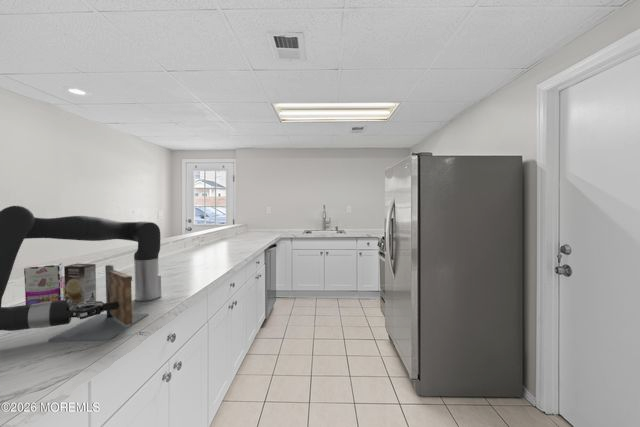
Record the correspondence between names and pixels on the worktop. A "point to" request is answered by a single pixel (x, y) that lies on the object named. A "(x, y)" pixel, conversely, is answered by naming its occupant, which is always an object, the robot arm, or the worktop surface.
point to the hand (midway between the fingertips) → (117, 305)
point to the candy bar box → (43, 283)
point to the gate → (121, 295)
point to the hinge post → (108, 268)
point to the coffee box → (80, 283)
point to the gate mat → (97, 329)
